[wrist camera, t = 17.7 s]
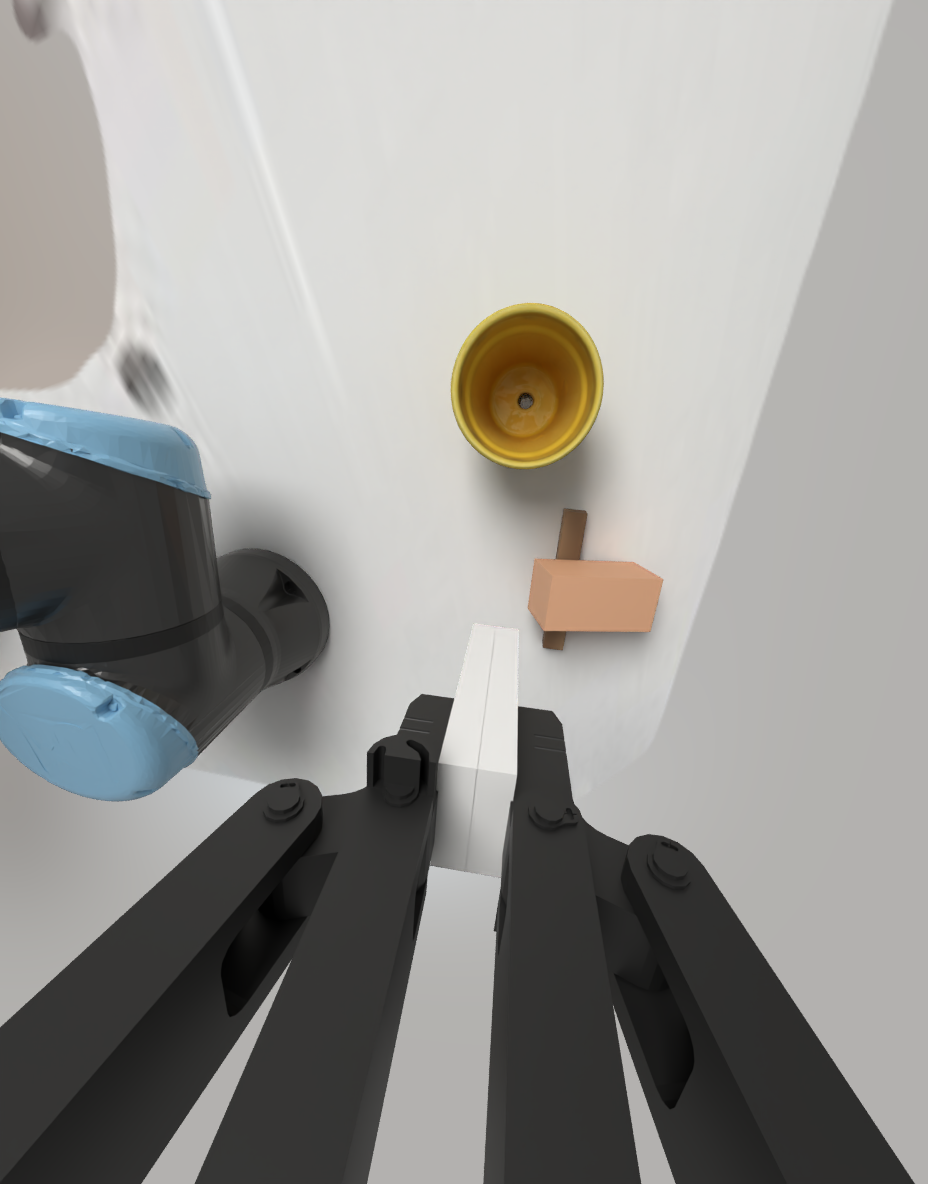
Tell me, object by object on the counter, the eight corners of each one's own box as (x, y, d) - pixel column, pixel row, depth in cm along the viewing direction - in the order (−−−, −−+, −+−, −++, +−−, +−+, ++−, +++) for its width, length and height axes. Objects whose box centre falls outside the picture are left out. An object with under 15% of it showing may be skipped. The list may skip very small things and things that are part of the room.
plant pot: (589, 331, 36) (612, 296, 27) (579, 461, 40) (597, 469, 31) (465, 337, 38) (447, 305, 28) (466, 462, 41) (451, 470, 32)
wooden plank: (542, 641, 46) (542, 647, 45) (563, 508, 41) (565, 511, 40) (561, 643, 46) (562, 650, 45) (585, 510, 41) (587, 513, 40)
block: (543, 630, 38) (650, 631, 39) (552, 575, 36) (663, 579, 38) (527, 608, 42) (623, 609, 44) (534, 558, 41) (634, 562, 42)
